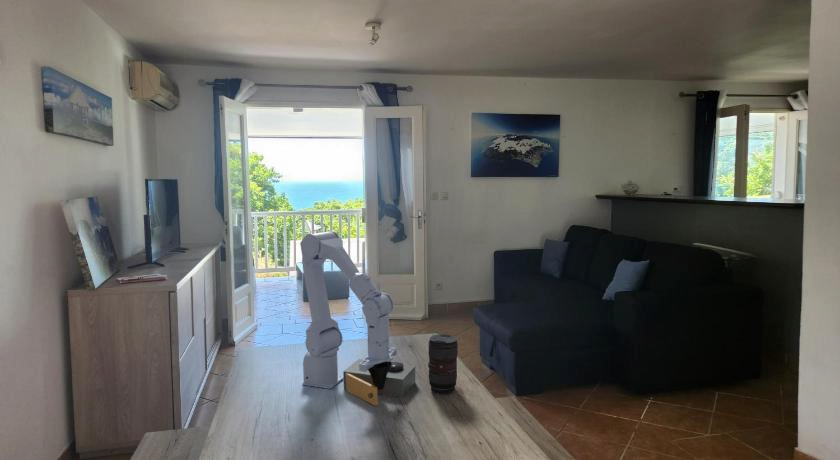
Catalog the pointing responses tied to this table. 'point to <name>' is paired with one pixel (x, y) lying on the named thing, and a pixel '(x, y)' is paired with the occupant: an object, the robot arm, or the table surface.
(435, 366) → the camera lens
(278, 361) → the table surface
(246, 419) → the table surface
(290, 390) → the table surface
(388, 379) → the camera housing
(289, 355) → the table surface
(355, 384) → the side door
